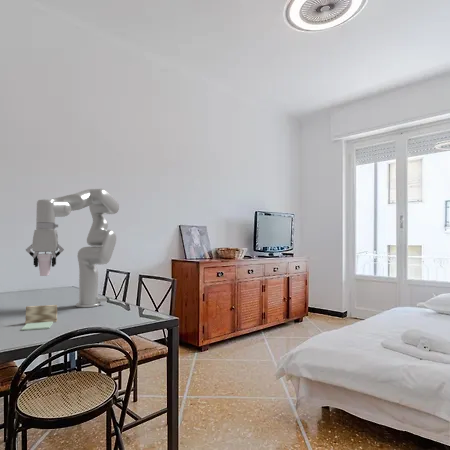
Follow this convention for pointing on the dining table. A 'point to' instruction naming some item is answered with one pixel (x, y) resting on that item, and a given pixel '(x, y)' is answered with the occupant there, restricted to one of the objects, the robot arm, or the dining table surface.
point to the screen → (41, 314)
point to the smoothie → (44, 263)
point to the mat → (37, 326)
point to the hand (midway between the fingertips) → (44, 266)
